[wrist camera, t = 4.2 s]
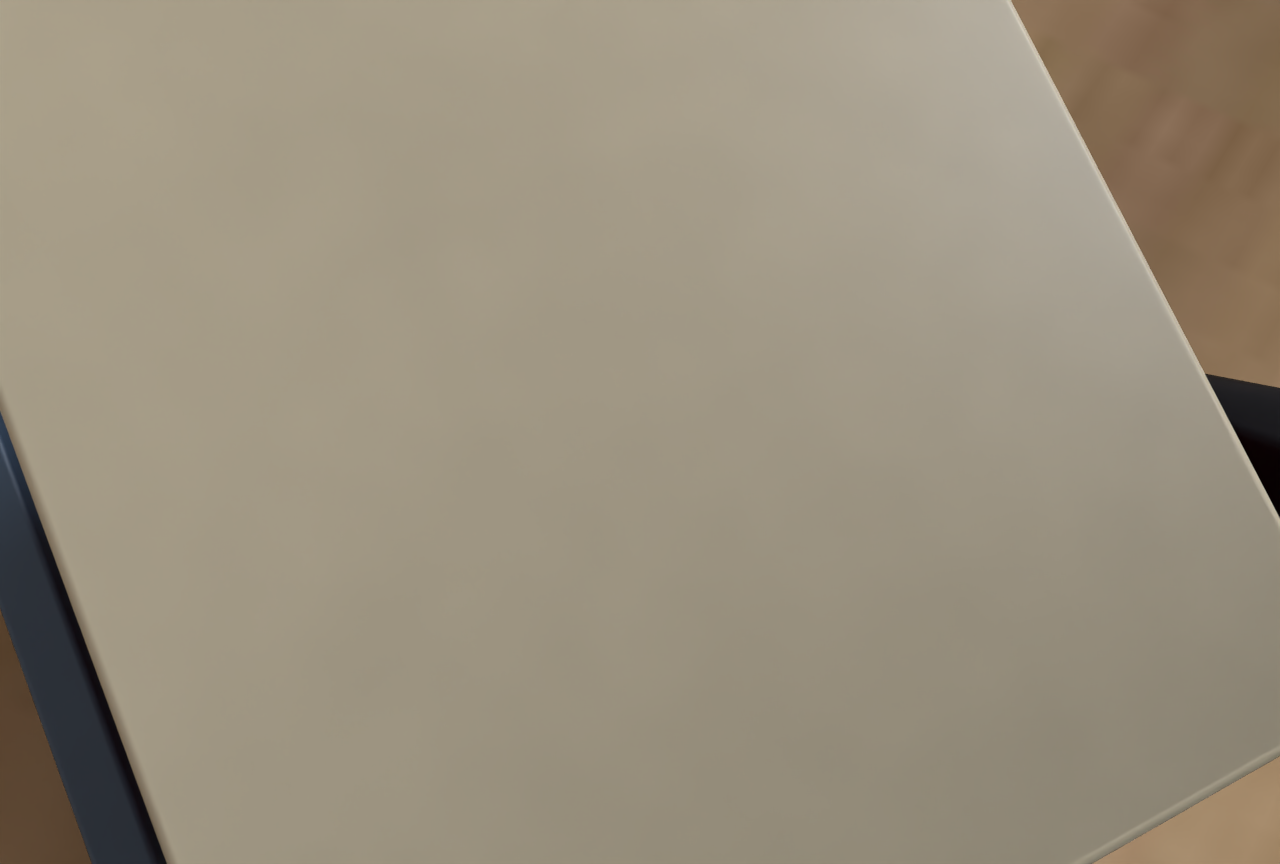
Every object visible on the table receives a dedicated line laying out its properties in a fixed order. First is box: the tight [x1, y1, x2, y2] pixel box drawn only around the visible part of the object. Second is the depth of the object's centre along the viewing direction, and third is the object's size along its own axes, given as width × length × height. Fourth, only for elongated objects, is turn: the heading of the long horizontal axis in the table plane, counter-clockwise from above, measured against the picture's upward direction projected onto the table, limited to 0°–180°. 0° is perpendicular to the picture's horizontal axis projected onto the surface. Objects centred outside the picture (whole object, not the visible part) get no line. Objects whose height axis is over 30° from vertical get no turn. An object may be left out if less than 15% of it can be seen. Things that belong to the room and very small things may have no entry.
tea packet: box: [0, 0, 1280, 864], centre depth 11 cm, size 6×6×12 cm
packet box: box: [0, 412, 167, 864], centre depth 15 cm, size 12×11×5 cm
